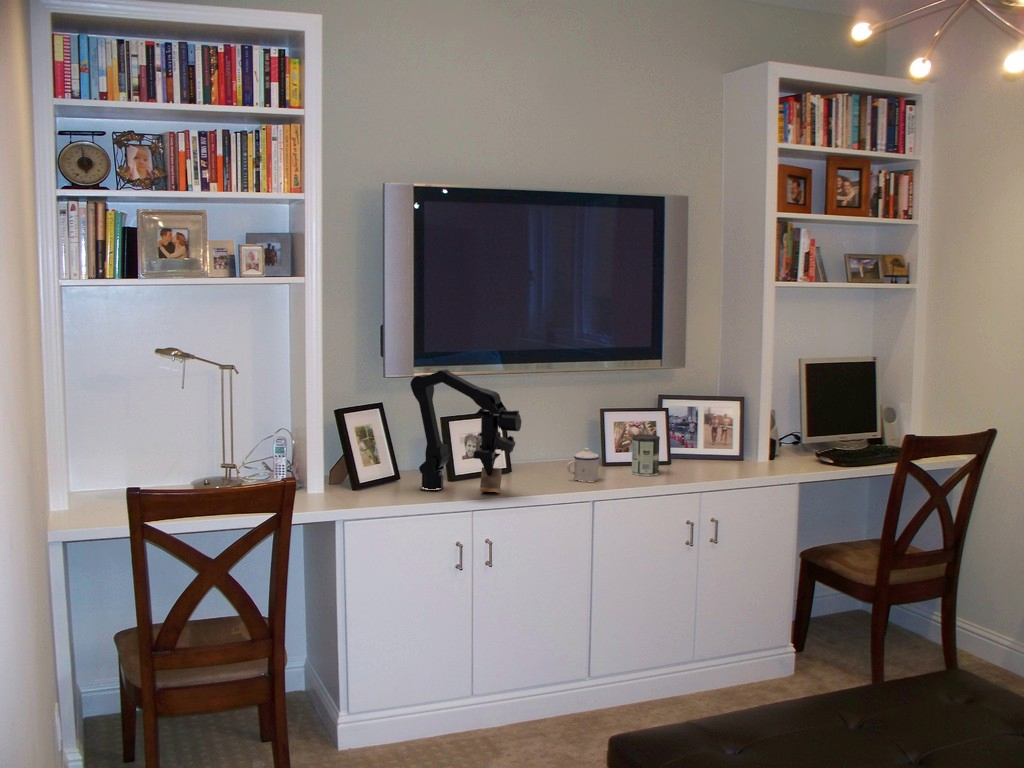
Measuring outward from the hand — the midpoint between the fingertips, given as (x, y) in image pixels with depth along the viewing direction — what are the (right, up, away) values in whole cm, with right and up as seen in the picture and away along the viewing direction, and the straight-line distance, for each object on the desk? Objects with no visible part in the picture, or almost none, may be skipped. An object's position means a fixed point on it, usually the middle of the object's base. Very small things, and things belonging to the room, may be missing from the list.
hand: (489, 475), depth 311 cm
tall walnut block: (0, -6, +1) cm, 6 cm away
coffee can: (+58, -3, +37) cm, 69 cm away
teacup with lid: (+33, -4, +25) cm, 41 cm away
